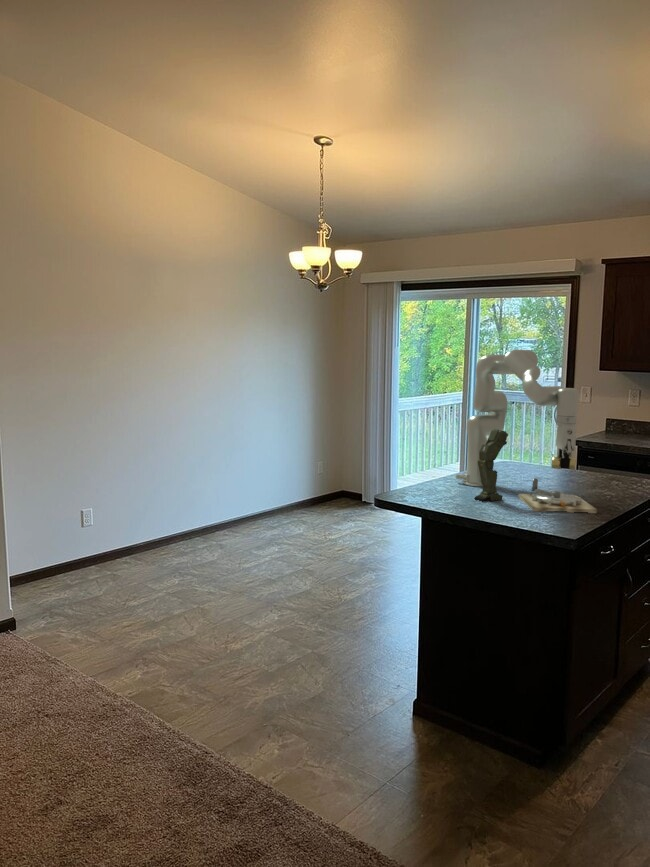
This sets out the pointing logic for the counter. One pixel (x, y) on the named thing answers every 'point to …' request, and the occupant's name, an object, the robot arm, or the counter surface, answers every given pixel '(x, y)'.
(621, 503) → the counter surface
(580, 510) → the sprocket plate
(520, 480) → the counter surface
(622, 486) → the counter surface
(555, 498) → the sprocket
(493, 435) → the mechanical leg
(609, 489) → the counter surface
